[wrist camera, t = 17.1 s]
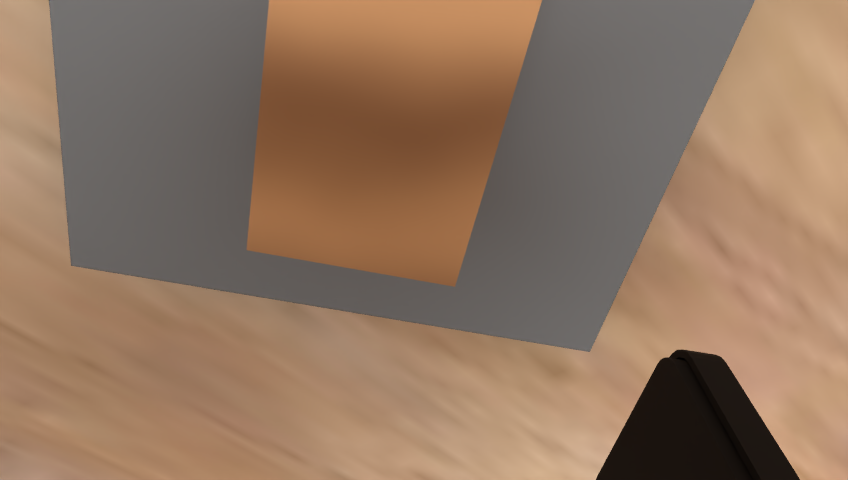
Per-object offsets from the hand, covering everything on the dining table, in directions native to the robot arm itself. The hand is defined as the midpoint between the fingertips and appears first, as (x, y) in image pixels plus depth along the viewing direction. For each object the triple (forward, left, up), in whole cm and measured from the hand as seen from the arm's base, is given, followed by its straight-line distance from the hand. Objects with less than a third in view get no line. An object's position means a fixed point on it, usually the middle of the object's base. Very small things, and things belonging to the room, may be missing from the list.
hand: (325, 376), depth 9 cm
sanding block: (0, 0, -15) cm, 15 cm away
